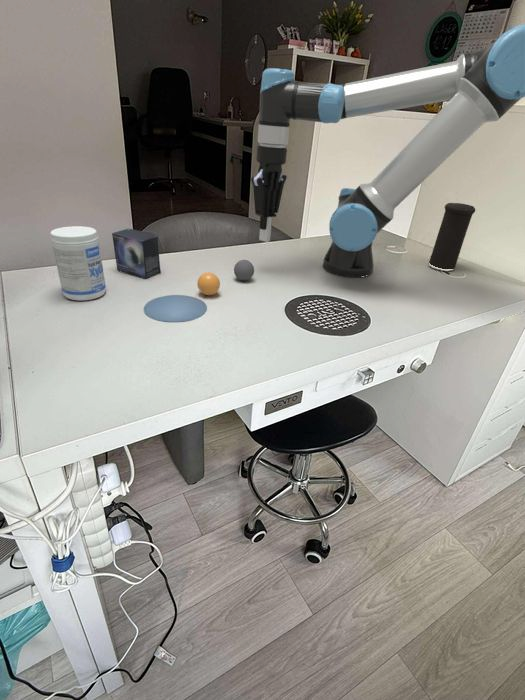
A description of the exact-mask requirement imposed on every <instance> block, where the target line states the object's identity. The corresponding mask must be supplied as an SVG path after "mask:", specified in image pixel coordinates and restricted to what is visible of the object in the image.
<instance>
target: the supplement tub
mask: <svg viewBox="0 0 525 700" xmlns="http://www.w3.org/2000/svg"><path fill="white" fill-rule="evenodd" d="M50 241H51V245H52V249H53V250H52V251H53V255H54V260H55V264H56V268H57V273H58V278H59V283H60V286H61V291H62V295H63V296H64V297H66V298H67V299H68V300H72V301H89V300H90V301H91V300H94V299H98V298H100V297H102V296H103V295H104V294H105V293H106V292H107V286H106V279H105V278H106V277H105V273H104V267H103V262H102V261H103V259H102V255H101V254H102V253H101V247H100V240H99V235H98V232H97V229H96V228H93V227H89V226H80V225H79V226H74V225H72V226H63V227H62V226H61V227H58V228H54V229H52V230H51V231H50Z"/></svg>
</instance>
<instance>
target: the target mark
mask: <svg viewBox="0 0 525 700" xmlns="http://www.w3.org/2000/svg"><path fill="white" fill-rule="evenodd" d="M207 309H208V307H207V304H206V303H205V302H204V300H201V299H199V298H198V297H196V296H195V297H194V296H190V295H185V294H184V295H183V294H169V295H163V296H162V295H161V296H158V297H156V298H155V297H154V298H153V299H151V300H150V301H147V302H146V303H145V305H144V306H143V312H144V314H145V315H146V316H147V317H149V318H150V319H153V320H156V321H159V322H164V323H184V322H190V321H192V320H195V319H198V318H200V317H202V316H203V315H205V313H206V312H207Z"/></svg>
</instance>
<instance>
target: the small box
mask: <svg viewBox="0 0 525 700" xmlns="http://www.w3.org/2000/svg"><path fill="white" fill-rule="evenodd" d="M111 236H112V242H113V249H114V257H115V265H116V270H118V272H120V271H121V272H120V273H124V274H128V275H130V276H134V277H137V278H140V279H143V280H147V279H150V278H153V277H155V276H157V275H160V274H161V273H162V271H161V262H160V251H159V250H160V249H159V235H157V234H153V233H150V232H144V231H141V230H137V229H132V228H126V229H122V230H119V231H115V232H112V233H111Z"/></svg>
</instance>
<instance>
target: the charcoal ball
mask: <svg viewBox="0 0 525 700" xmlns="http://www.w3.org/2000/svg"><path fill="white" fill-rule="evenodd" d="M233 273H234V276H235V277H236V278H237V280H240V281H244V282H245V281H248V280H250V279H251V278H253V276H254V273H255V266H254V265H253V263H252V262H251V261H250V260H247V259H240V260H239V261H237V262H236V263H235V265H234V267H233Z"/></svg>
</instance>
